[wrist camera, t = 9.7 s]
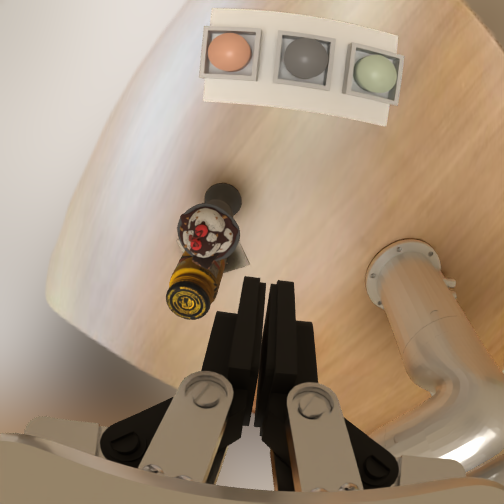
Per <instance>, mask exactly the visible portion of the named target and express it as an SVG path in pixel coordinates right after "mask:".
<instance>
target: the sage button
mask: <svg viewBox="0 0 504 504" xmlns="http://www.w3.org/2000/svg"><path fill="white" fill-rule="evenodd" d="M353 78H354V80H355V82H356V84H357V85H358V86H359V87H360V88H361V89H363V90H365V91H368V92H375V93H384V92H387V91H389V90H390V89H392V88H393V86H394V85H395V83H396V79H397V73H396V69H395V67H394V65H393V64H392V62H391V61H390V60H388V59H387V58H386V57H384V56H381V55H370V56H367V57H364V58H361V59H359V60H358V61H357V62H356V63H355V65H354V70H353Z"/></svg>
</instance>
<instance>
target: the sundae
mask: <svg viewBox="0 0 504 504" xmlns="http://www.w3.org/2000/svg"><path fill="white" fill-rule="evenodd" d="M240 207H241V196H240V194H239V192H238V190H237V189H236V188H234V187H233V186H231V185H229V184H226V183H219V184H216V185H213V186H211V187H210V188H209V189H208V191H207V192H206V195H205V203H202V204H198V205H195V206H193V207H192V208H190V209H188V210H187V211H186V212H185V213H184V214H182V215H181V216H180V220H179V223H178V227H177V230H178V237H179V240H180V243H181V245H182V246H183V248H184V250H185V251H186V252H187V253H188V254H190V255H191V256H193V258H192V262H194V263H195V264H197V265H199V266H201V267H203V268H205V269H209V268H210V267H211V266H212V264H213V263H214V261H218V260H222V259H225V258H227V257H228V256H230V255H231V254H232V253H233V252H234V251H235V249H236V247H237V245H238V243H239V239H240V230H239V226H238V225H237V223H236V222H235V220H234V219H233V216H234V215H235V214H236V213H237V212H238V211H239V210H240Z"/></svg>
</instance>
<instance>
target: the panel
mask: <svg viewBox="0 0 504 504" xmlns="http://www.w3.org/2000/svg"><path fill="white" fill-rule="evenodd" d="M224 33H235V34H238V35H240V36H242V37H243V38H244V39H245V40H246V41H247V43H248V44H249V46H250V48H251V51H252V56H251V60H250V62H249V64H248V65H247V66H246V67H245V68H244V69H242V70H240V71H236V72H227V71H224V70H221V69H218V68H216V67H215V66H214V65H213V64H212V63H211V62H210V60H209V57H208V48H209V45H210V43H211V42H212V40H213V39H214V38H216V37H217V36H219V35H221V34H224ZM299 38H310V39H314V40H316V41H318V42H319V43H320V44H322V45H323V47H324V48H325V50H326V52H327V55H328V64H327V67H326V69H325V70H324V71H323V72H322V73H321V74H320V75H318V76H316V77H313V78H309V79H301V78H297V77H295V76H293V75H292V74H290V73H289V72H288V70H287V69H286V67H285V65H284V53H285V50H286V48H287V46H288V45H289V44H290V43H291V42H292V41H294V40H296V39H299ZM397 45H398V36H397V35H393V34H390V33H387V32H383V31H379V30H376V29H372V28H368V27H364V26H360V25H355V24H351V23H346V22H342V21H337V20H332V19H326V18H321V17H315V16H308V15H301V14H294V13H286V12H276V11H265V10H251V9H227V8H212V12H211V21H210V26H204V30H203V40H202V50H201V61H200V72H199V78H205V83H204V96H203V102H222V103H236V104H248V105H259V106H268V107H277V108H285V109H293V110H300V111H307V112H313V113H319V114H325V115H331V116H337V117H342V118H347V119H353V120H357V121H362V122H367V123H372V124H376V125H380V126H385V127H386V125H387V119H388V113H389V107H390V104H391V105H395V106H398V101H399V94H400V87H401V80H402V72H403V64H404V56H403V55H400V54H397ZM370 55H381V56H384V57H386V58H387V59H388V60H390V61H391V62H392V64H393V65H394V67H395V69H396V73H397V79H396V83H395V85H394V86H393V88H392V89H390V90H389V91H387V92H384V93H375V92H368V91H365V90H363V89H361V88H360V87H359V86H358V85H357V84H356V82H355V80H354V78H353V70H354V65H355V63H356V62H357V61H358V60H359V59H361V58H364V57H367V56H370Z"/></svg>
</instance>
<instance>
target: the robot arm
mask: <svg viewBox="0 0 504 504" xmlns="http://www.w3.org/2000/svg"><path fill="white" fill-rule="evenodd" d="M365 284H366V290H367V293H368V295H369V298H370V299H371V301H372V302H373V303H374V304H375V305H376V306H378V307H380V308H382V309H384V310H385V312H386V315H387V317H388V320H389V323H390V326H391V328H392V331H393V334H394V337H395V340H396V342H397V345H398V348H399V351H400V354H401V357H402V360H403V363H404V366H405V369H406V371H407V374H408V376H409V377H410V379H411V380H412V381H413V382H414V383H415V384H416V385H418V386H419V387H421V388H423V389H425V390H427V391H429V392H432V393H435V394H434V395H433V396H432V397H431V398H429V399H428V400H426V401H424V402H423V403H422V404H420V405H419V406H417V407H415V408H414V409H412V410H410V411H408V412H407V413H405V414H403V415H401V416H399V417H398V418H396V419H394V420H392V421H390V422H389V423H387V424H385V425H383V426H381V427H380V428H378V429H376V430H375V431H373V432H372V433H371V434H370V435H369V436H367V435H366V434H365V433H363V432H362V431H361V430H360V429H358V428H357V427H356V426H354V425H353V424H352V423H350V422H349V421H348V420H347V419H345V418H344V417H343V414H342V410H341V407H340V404H339V400H338V398H337V396H336V394H335V393H334V392H333V391H332V390H331V389H330V388H328V387H326V386H325V385H322V384H319V383H318V376H317V364H316V353H315V342H314V332H313V324H312V322H305V321H296V316H295V294H294V282H289V281H280V280H278V281H277V284H271V286H270V293H269V299H268V305H267V312H266V318H265V324H264V330H263V336H262V329H263V317H264V304H265V291H266V283H261V282H260V278H255V277H247V276H244V281H243V287H242V292H241V298H240V303H239V309H238V314H235V313H227V312H220V311H217V312H216V316H215V319H214V323H213V327H212V331H211V335H210V339H209V343H208V347H207V351H206V354H205V358H204V362H203V366H202V370H201V371H199V372H195V373H192V374H190V375H189V376H187V377H186V378H184V380H183V381H182V382H181V384H180V386H179V388H178V390H177V392H176V394H175V396H174V397H172V398H170V399H168V400H166V401H164V402H161V403H159V404H157V405H155V406H153V407H151V408H149V409H146V410H144V411H142V412H140V413H138V414H135V415H133V416H131V417H129V418H127V419H124V420H122V421H119V422H117V423H115V424H113V425H111V426H110V427H101V426H100V425H99V424H98V423H89V422H80V421H71V420H64V419H58V418H51V417H46V416H44V417H43V416H42V417H36V418H34V419H32V420H31V421H30V422H29V423H28V424H27V426H26V429H25V431H24V434H19V433H0V504H504V454H502V455H500V456H498V457H496V458H494V459H492V460H490V461H488V462H486V461H487V460H489V459H491V458H492V457H494V456H495V455H497V454H498V453H499V452H501V451H502V450H503V449H504V374H503V372H502V371H501V370H500V368H499V367H498V366H497V364H496V363H495V362H494V360H493V359H492V357H491V356H490V355H489V353H488V352H487V350H486V348H485V347H484V345H483V343H482V342H481V340H480V339H479V337H478V335H477V334H476V332H475V330H474V329H473V327H472V325H471V323H470V322H469V320H468V318H467V317H466V315H465V313H464V312H463V310H462V309H461V307H460V305H459V304H458V302H457V301H456V292H455V291H451V290H449V288H448V287H452V288H454V287H455V285H456V280H455V279H452V278H445V277H444V276H443V274H442V273H441V263H440V259H439V256H438V255H437V253H436V252H435V250H434V249H433V248H432V247H431V246H430V245H428V244H427V243H425V242H423V241H420V240H415V239H406V240H401V241H398V242H395V243H393V244H391V245H389V246H387V247H386V248H384V249H383V250H382V251H381V252H379V253H378V254H377V256H376V257H375V258H374V259H373V260H372V262H371V264H370V266H369V268H368V270H367V273H366V279H365ZM261 342H262V343H261ZM258 373H259V376H258ZM257 379H258V388H257V399H256V410H255V422H254V427H260V436H262V441H263V442H264V443H265V444H266V445H267V446H268V447H269V448H270V458H271V466H272V474H273V482H274V491H267V490H255V489H244V488H235V487H227V486H219V485H216V482H217V479H218V476H219V473H220V471H221V468H222V465H223V462H224V459H225V456H226V453H227V450H228V445H230V444H232V443H233V442H235V441H236V440H238V439H239V438H241V433H242V426H249V422H250V417H251V412H252V406H253V401H254V396H255V390H256V385H257ZM484 462H486V463H484ZM482 463H484V464H483V465H481V466H479V465H480V464H482ZM477 466H479V467H477ZM475 467H477V468H475ZM473 468H475V469H473ZM471 469H473V470H472V471H470V470H471ZM468 471H470V472H468ZM466 472H468V473H466Z"/></svg>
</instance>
